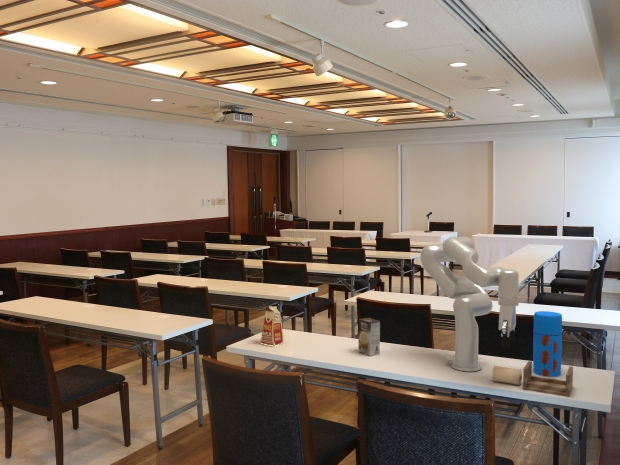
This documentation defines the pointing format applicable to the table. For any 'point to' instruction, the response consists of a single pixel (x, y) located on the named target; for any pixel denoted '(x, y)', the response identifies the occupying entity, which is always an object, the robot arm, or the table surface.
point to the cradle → (547, 382)
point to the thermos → (547, 343)
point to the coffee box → (369, 336)
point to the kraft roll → (507, 375)
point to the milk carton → (272, 327)
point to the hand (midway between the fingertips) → (508, 344)
